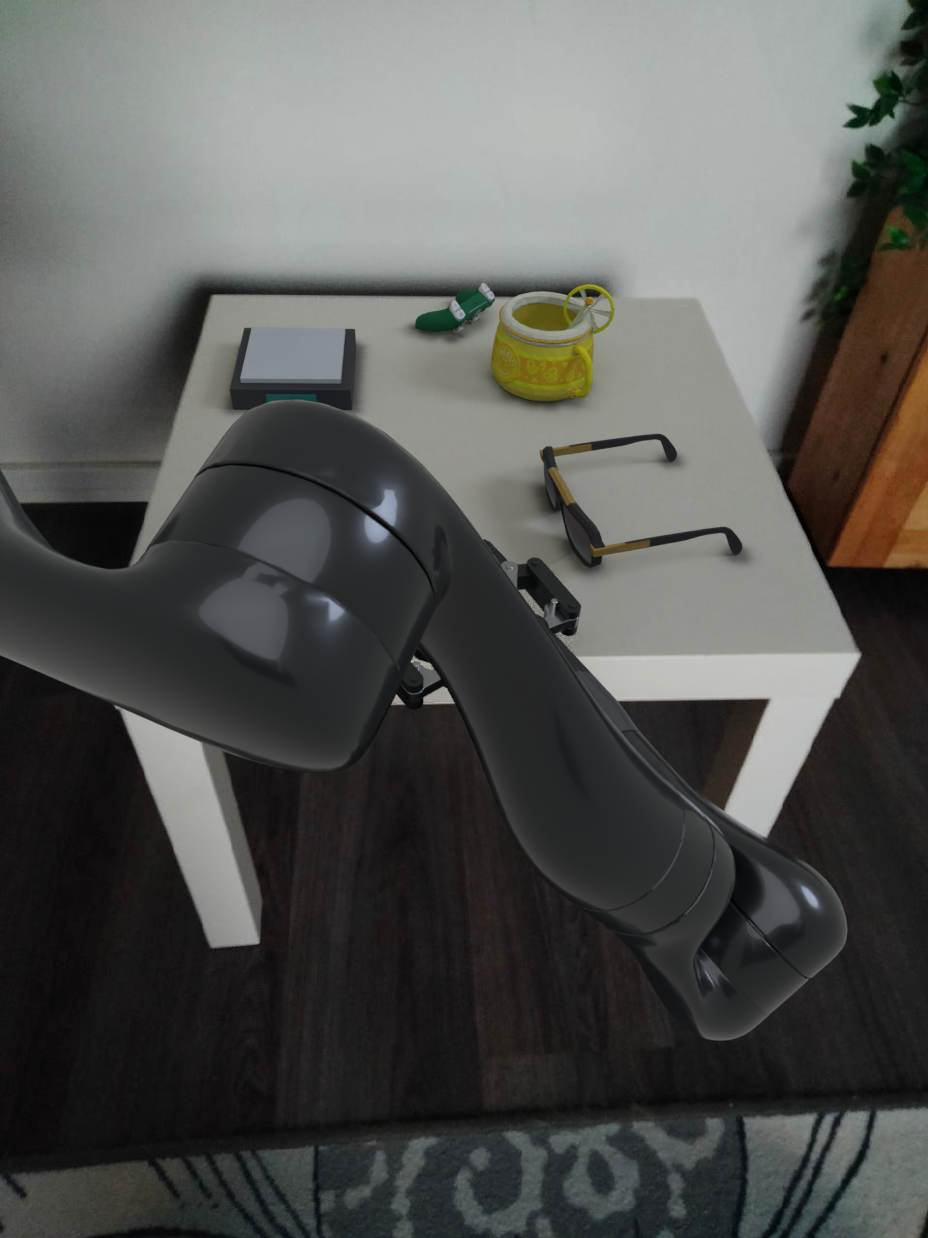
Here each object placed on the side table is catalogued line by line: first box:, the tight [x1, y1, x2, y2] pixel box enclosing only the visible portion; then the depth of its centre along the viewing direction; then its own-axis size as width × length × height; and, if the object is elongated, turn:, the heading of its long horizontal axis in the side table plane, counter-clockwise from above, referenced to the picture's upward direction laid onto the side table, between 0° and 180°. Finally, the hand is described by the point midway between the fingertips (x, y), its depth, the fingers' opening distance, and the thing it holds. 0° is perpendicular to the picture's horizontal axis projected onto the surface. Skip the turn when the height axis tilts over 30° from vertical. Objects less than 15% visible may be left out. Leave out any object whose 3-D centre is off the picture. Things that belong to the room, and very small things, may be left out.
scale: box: [229, 326, 357, 411], centre depth 94 cm, size 12×12×3 cm
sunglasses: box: [539, 433, 743, 568], centre depth 80 cm, size 14×15×5 cm
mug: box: [490, 283, 616, 402], centre depth 91 cm, size 13×11×12 cm
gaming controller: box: [414, 282, 496, 334], centre depth 103 cm, size 9×4×6 cm
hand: (420, 565), depth 65 cm, fingers open, 8 cm apart
